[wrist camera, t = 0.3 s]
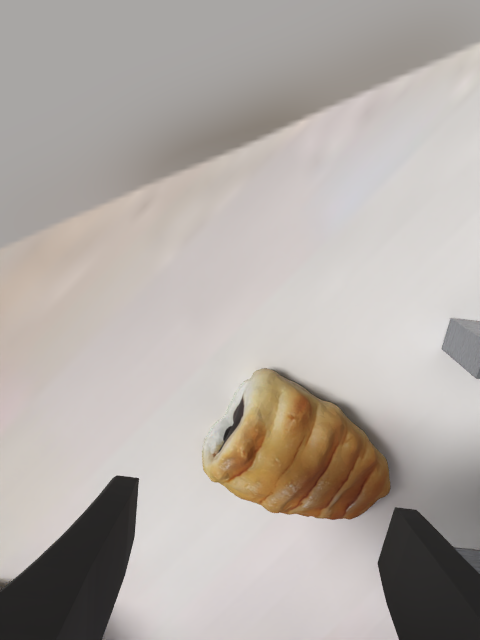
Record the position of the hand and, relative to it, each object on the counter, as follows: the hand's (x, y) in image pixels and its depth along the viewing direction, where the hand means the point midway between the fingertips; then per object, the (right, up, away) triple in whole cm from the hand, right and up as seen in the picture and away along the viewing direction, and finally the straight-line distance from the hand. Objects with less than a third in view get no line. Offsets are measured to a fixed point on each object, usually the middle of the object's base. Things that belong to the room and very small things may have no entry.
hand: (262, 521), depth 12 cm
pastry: (+2, 0, +11) cm, 11 cm away
